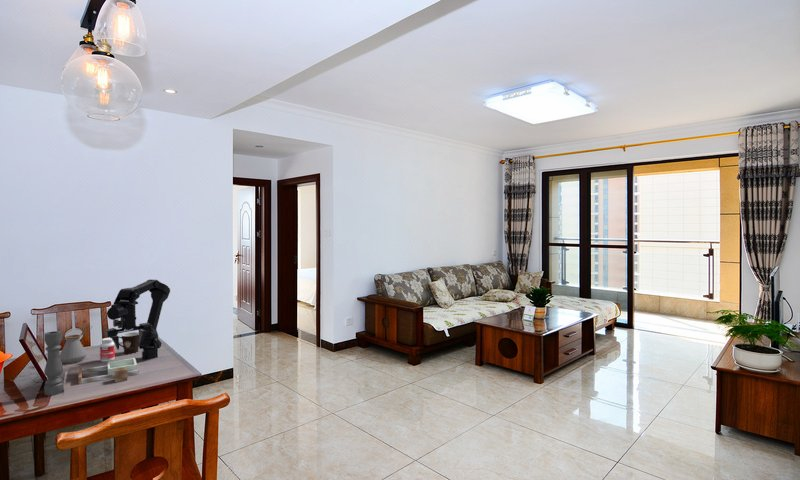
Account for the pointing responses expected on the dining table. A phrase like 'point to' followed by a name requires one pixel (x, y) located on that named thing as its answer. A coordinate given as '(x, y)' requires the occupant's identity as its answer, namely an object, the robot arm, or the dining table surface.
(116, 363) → the crate
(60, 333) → the candle holder
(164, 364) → the dining table surface
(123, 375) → the walnut block
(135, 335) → the coffee mug
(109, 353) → the pill bottle
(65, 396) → the dining table surface
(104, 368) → the bay board
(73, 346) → the coffee pot
